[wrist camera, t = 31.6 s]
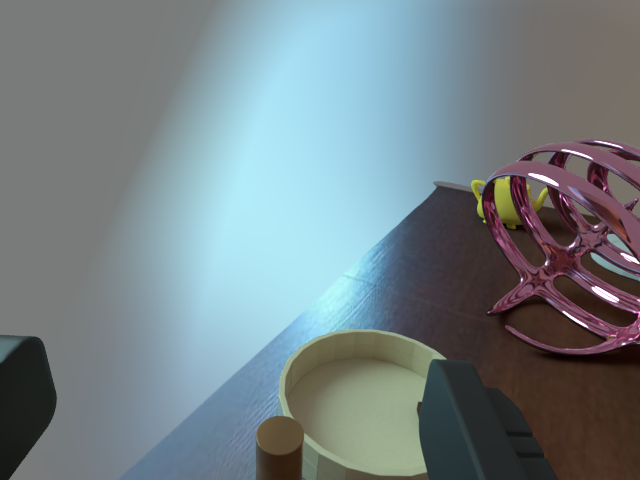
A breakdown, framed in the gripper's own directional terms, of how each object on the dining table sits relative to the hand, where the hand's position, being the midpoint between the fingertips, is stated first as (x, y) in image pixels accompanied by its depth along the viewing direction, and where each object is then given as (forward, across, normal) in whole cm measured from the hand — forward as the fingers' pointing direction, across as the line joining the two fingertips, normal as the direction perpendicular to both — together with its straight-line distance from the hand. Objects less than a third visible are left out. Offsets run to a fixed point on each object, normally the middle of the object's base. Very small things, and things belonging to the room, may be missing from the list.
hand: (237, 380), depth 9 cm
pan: (+26, -8, +28) cm, 39 cm away
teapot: (+88, -46, +28) cm, 103 cm away
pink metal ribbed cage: (+45, -38, +28) cm, 65 cm away
